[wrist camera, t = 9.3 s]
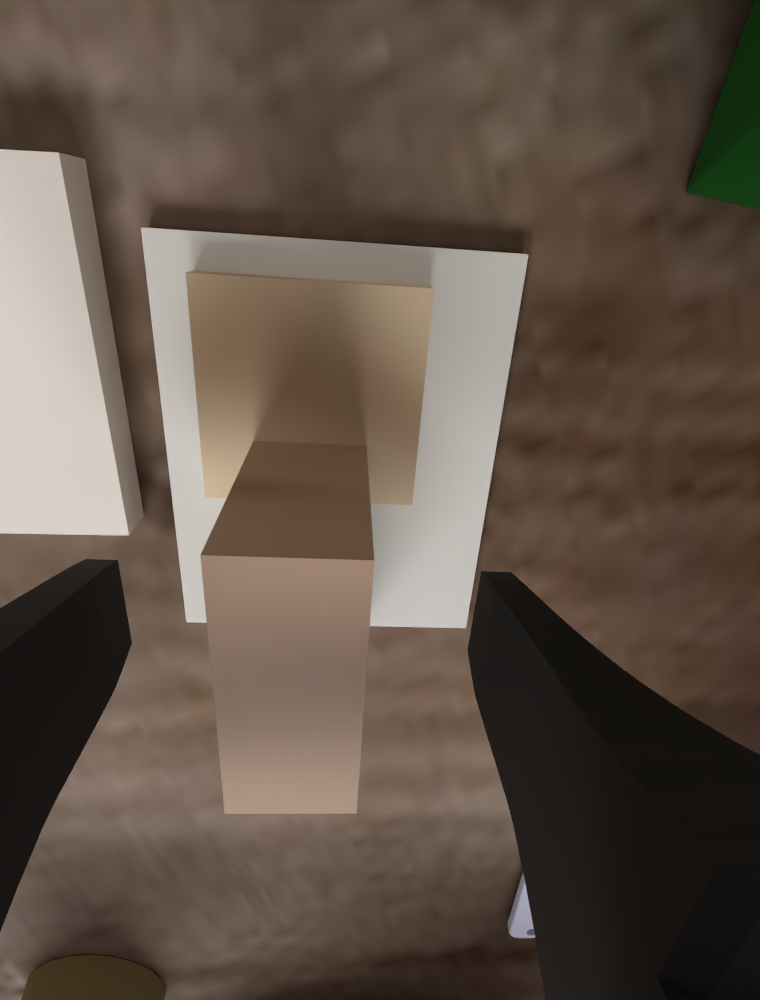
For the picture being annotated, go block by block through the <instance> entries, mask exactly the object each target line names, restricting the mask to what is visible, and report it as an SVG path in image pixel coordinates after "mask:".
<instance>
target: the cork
mask: <svg viewBox="0 0 760 1000" xmlns="http://www.w3.org/2000/svg"><path fill="white" fill-rule="evenodd" d="M165 992H166V989H165V987H164V984H163V982H162V980H161V979H160V978H159V977H158V976H157V975H156V974H155V973H153V972H152V971H151V970H150V969H147V968H145V967H143V966H141V965H139V964H137V963H135V962H132V961H128V960H124V959H120V958H116V957H111V956H100V955H79V956H67V957H63V958H60V959H56V960H52V961H49V962H47V963H45V964H43V965H42V966H40V967H38V968H36V969H35V970H34V971H33V973H32V974H31V975H30V977H29V978H28V980H27V983H26V987H25V990H24V993H23V996H22V999H21V1000H164V997H165Z"/></svg>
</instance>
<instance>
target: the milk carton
mask: <svg viewBox="0 0 760 1000" xmlns="http://www.w3.org/2000/svg"><path fill="white" fill-rule="evenodd" d="M686 192H687V193H690V194H695V195H699V196H703V197H707V198H712V199H716V200H720V201H724V202H729V203H733V204H736V205H740V206H744V207H748V208H752V209H756V210H759V211H760V0H754V2H753V5H752V8H751V10H750V13H749V16H748V19H747V22H746V24H745V27H744V30H743V33H742V36H741V38H740V41H739V44H738V47H737V50H736V53H735V55H734V58H733V61H732V64H731V67H730V69H729V72H728V75H727V78H726V81H725V83H724V86H723V89H722V92H721V95H720V97H719V100H718V103H717V106H716V109H715V111H714V114H713V117H712V120H711V123H710V125H709V128H708V131H707V134H706V137H705V139H704V142H703V145H702V148H701V151H700V153H699V156H698V159H697V162H696V165H695V168H694V170H693V173H692V176H691V179H690V182H689V184H688V187H687V189H686Z"/></svg>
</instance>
